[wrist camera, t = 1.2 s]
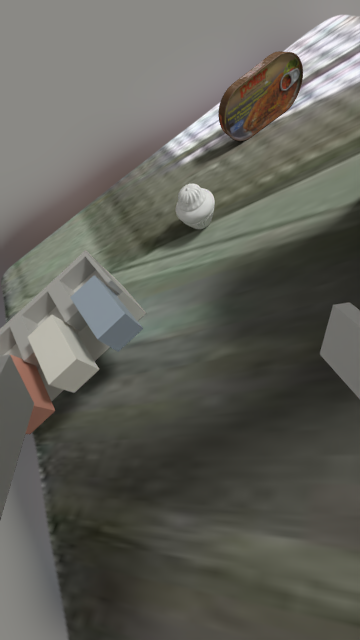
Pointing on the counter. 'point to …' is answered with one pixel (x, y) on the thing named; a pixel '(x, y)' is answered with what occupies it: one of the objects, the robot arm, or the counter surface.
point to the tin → (261, 95)
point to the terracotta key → (34, 393)
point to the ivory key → (62, 354)
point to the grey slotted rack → (62, 313)
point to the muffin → (195, 206)
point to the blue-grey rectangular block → (105, 314)
